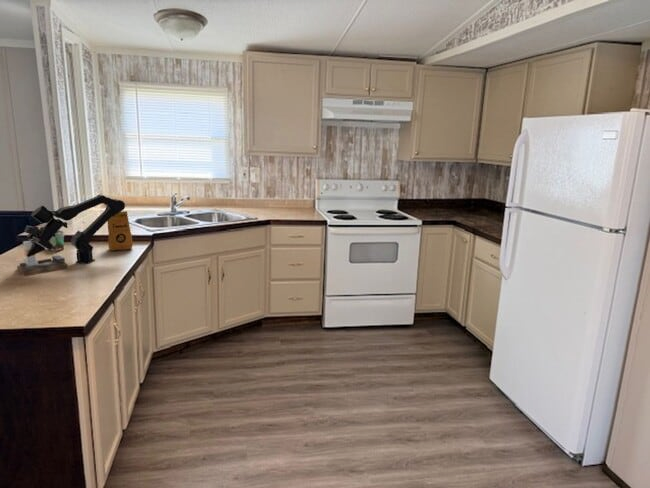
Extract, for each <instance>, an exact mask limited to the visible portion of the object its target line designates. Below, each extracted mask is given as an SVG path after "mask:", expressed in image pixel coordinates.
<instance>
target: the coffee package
mask: <svg viewBox="0 0 650 488" xmlns="http://www.w3.org/2000/svg"><path fill="white" fill-rule="evenodd" d="M106 223H107V229H108V231H107V232H108V235H107V236H108V244H107V245H108V249H109V251H127V250H128V251H129V250H133V249H132V248H133V244H134V243H133V236H132V233H131V227H130V221H129V216H128V211H127V210H126V211H125V210H122V211H121V212H119V213H118V214H116V215H114V216H112V217H111V218H110V219H109V220H108V221H107V222H106Z"/></svg>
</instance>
